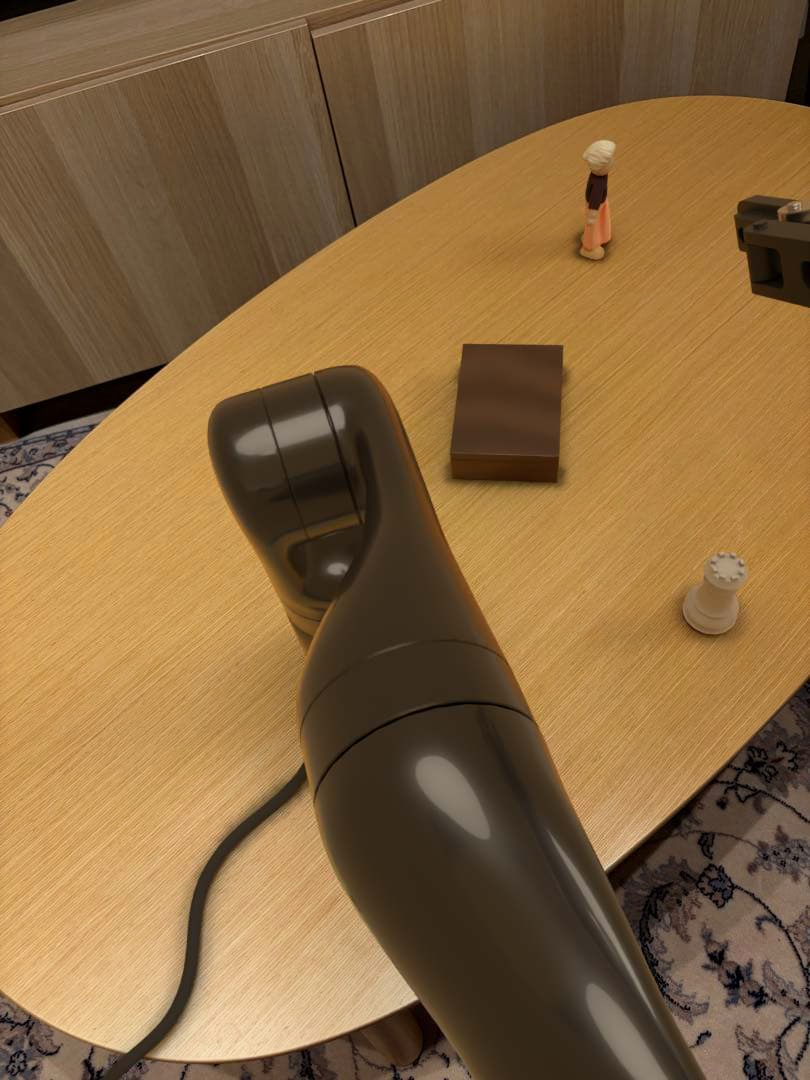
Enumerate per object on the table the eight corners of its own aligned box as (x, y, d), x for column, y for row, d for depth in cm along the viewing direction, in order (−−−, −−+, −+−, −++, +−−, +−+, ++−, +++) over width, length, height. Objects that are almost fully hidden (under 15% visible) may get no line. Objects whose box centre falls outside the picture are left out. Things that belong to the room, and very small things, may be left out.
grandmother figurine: (614, 264, 97) (626, 162, 86) (579, 267, 97) (587, 166, 87) (606, 220, 101) (617, 117, 90) (573, 223, 101) (580, 121, 91)
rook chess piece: (747, 610, 73) (770, 561, 66) (717, 647, 71) (738, 601, 65) (700, 580, 75) (718, 530, 68) (670, 616, 73) (686, 568, 66)
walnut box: (557, 482, 82) (559, 456, 78) (452, 478, 83) (449, 453, 80) (561, 372, 89) (563, 344, 86) (464, 370, 91) (463, 343, 87)
